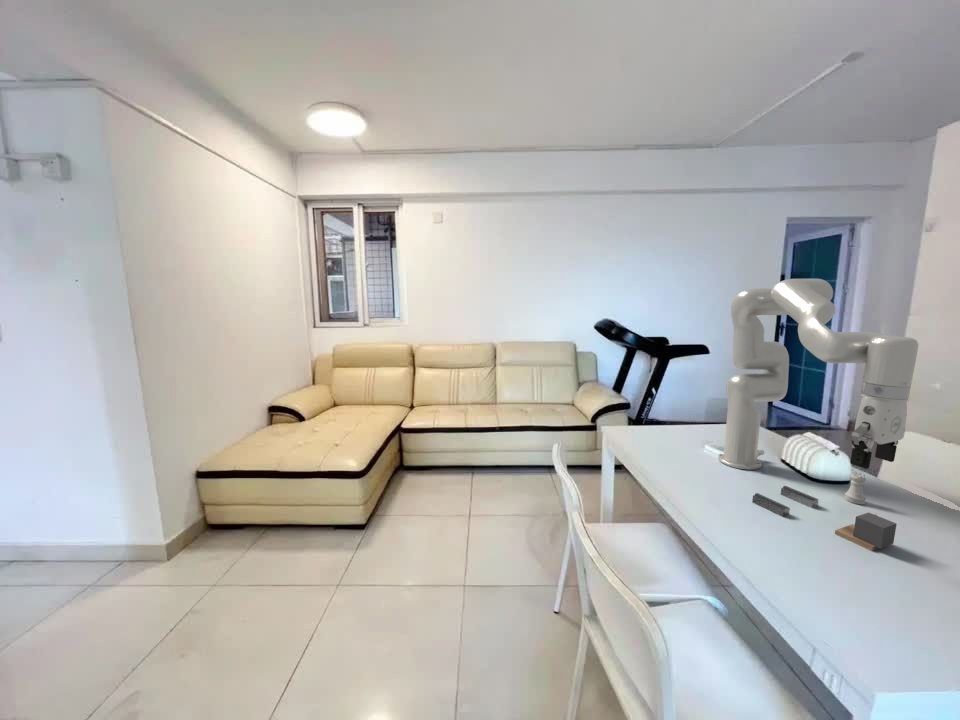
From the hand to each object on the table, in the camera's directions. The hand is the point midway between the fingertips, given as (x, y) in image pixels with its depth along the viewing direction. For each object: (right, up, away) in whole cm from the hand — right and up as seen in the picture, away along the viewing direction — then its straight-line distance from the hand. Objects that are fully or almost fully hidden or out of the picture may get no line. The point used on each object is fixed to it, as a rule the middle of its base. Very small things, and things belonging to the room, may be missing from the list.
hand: (871, 462), depth 89 cm
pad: (0, -19, +3) cm, 19 cm away
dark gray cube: (+1, -18, +1) cm, 18 cm away
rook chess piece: (+15, -16, +20) cm, 30 cm away
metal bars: (-6, -16, +18) cm, 25 cm away
